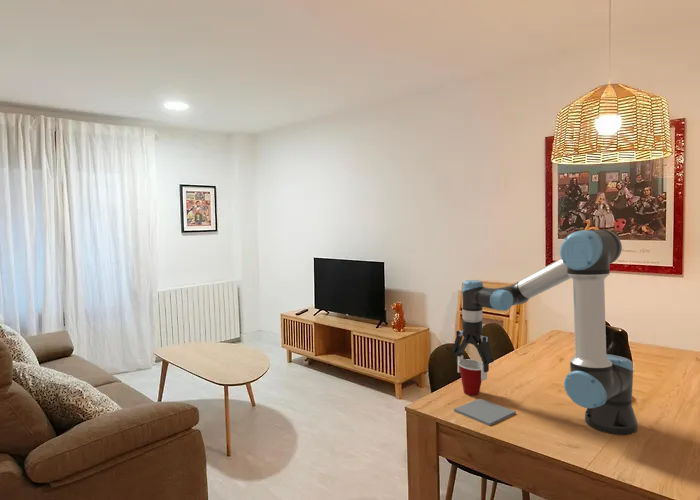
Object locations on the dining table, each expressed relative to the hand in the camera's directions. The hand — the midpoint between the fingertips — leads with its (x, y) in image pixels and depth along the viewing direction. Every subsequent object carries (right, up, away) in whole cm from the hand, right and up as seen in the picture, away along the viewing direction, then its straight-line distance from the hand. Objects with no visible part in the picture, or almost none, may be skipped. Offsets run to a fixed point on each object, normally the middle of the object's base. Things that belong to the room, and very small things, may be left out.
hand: (471, 375), depth 181 cm
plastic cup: (0, -7, 0) cm, 7 cm away
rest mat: (0, -8, -17) cm, 19 cm away
